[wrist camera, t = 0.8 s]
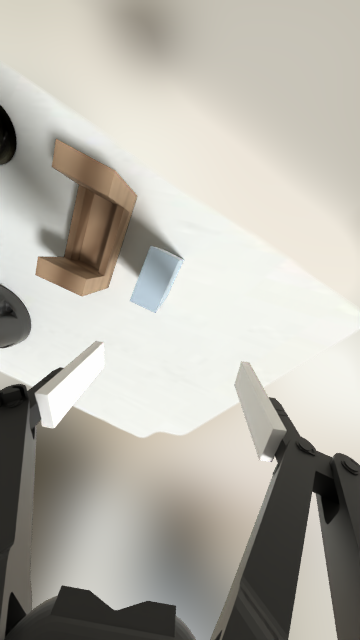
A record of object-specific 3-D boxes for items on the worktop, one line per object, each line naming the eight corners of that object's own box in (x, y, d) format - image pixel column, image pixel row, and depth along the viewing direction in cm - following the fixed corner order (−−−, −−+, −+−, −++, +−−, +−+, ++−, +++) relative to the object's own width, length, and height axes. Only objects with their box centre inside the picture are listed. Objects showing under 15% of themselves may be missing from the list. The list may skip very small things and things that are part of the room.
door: (150, 287, 35) (129, 300, 24) (165, 250, 32) (150, 245, 21) (167, 295, 36) (155, 312, 24) (183, 259, 33) (179, 259, 22)
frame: (73, 271, 35) (35, 274, 27) (95, 173, 29) (55, 138, 21) (108, 287, 36) (82, 296, 27) (137, 195, 30) (115, 170, 21)
